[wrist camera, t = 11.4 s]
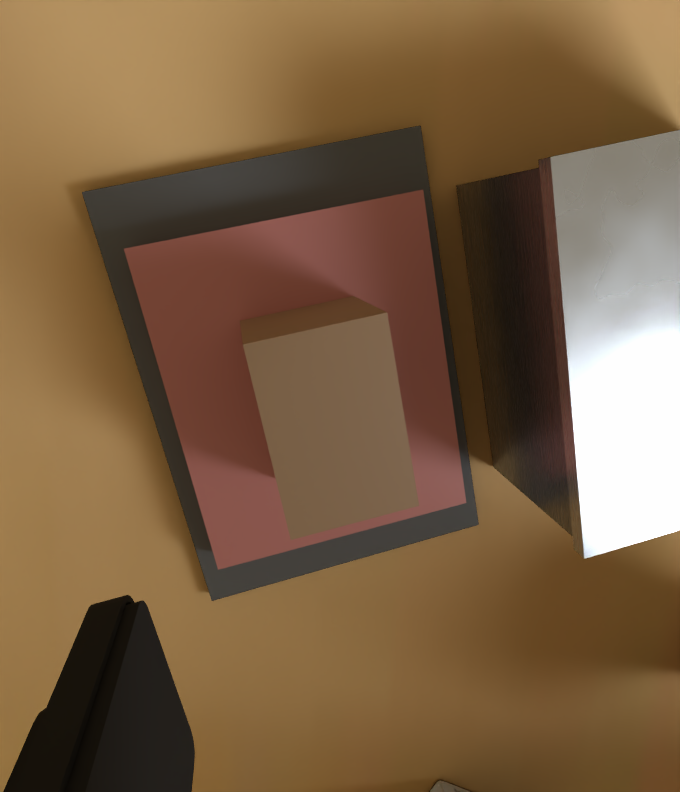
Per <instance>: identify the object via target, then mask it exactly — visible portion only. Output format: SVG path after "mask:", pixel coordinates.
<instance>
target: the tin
mask: <svg viewBox="0 0 680 792" xmlns="http://www.w3.org/2000/svg"><path fill="white" fill-rule="evenodd" d="M456 187H457V194H458V202H459V209H460V217H461V225H462V232H463V240H464V247H465V255H466V262H467V270H468V277H469V285H470V293H471V300H472V308H473V315H474V323H475V330H476V338H477V346H478V353H479V361H480V368H481V376H482V383H483V391H484V398H485V406H486V414H487V421H488V429H489V436H490V444H491V451H492V459H493V466H494V468H495V469H496V470H497V471H499V472H500V473H501V474H502V475H503V476H504V477H505V478H507V479H508V480H509V481H510V482H511V483H512V484H513V485H514V486H516V487H517V488H518V489H519V490H520V491H521V492H522V493H524V494H525V495H526V496H527V497H528V498H529V499H530V500H532V501H533V502H534V503H535V504H536V505H537V506H538V507H540V508H541V509H542V510H543V511H544V512H545V513H546V514H547V515H549V516H550V517H551V518H552V519H553V520H554V521H555V522H557V523H558V524H559V525H560V526H561V527H562V528H563V529H565V530H566V531H567V532H568V533H569V534H570V535H571V536H573V546H574V550H575V551H576V552H578V553H579V554H580V555H581V556H582V557H583V558H584V559H585V558H589V557H592V556H595V555H599V554H602V553H605V552H609V551H612V550H615V549H619V548H622V547H625V546H629V545H632V544H635V543H639V542H642V541H645V540H649V539H652V538H655V537H659V536H662V535H665V534H669V533H672V532H675V531H679V530H680V130H677V131H672V132H668V133H663V134H658V135H653V136H648V137H644V138H639V139H634V140H629V141H625V142H620V143H615V144H610V145H606V146H601V147H596V148H591V149H586V150H582V151H577V152H572V153H567V154H563V155H558V156H553V157H549V158H544V159H540V160H539V168H537V169H532V170H527V171H523V172H518V173H513V174H509V175H504V176H499V177H495V178H490V179H485V180H481V181H476V182H471V183H467V184H462V185H457V186H456Z"/></svg>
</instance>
